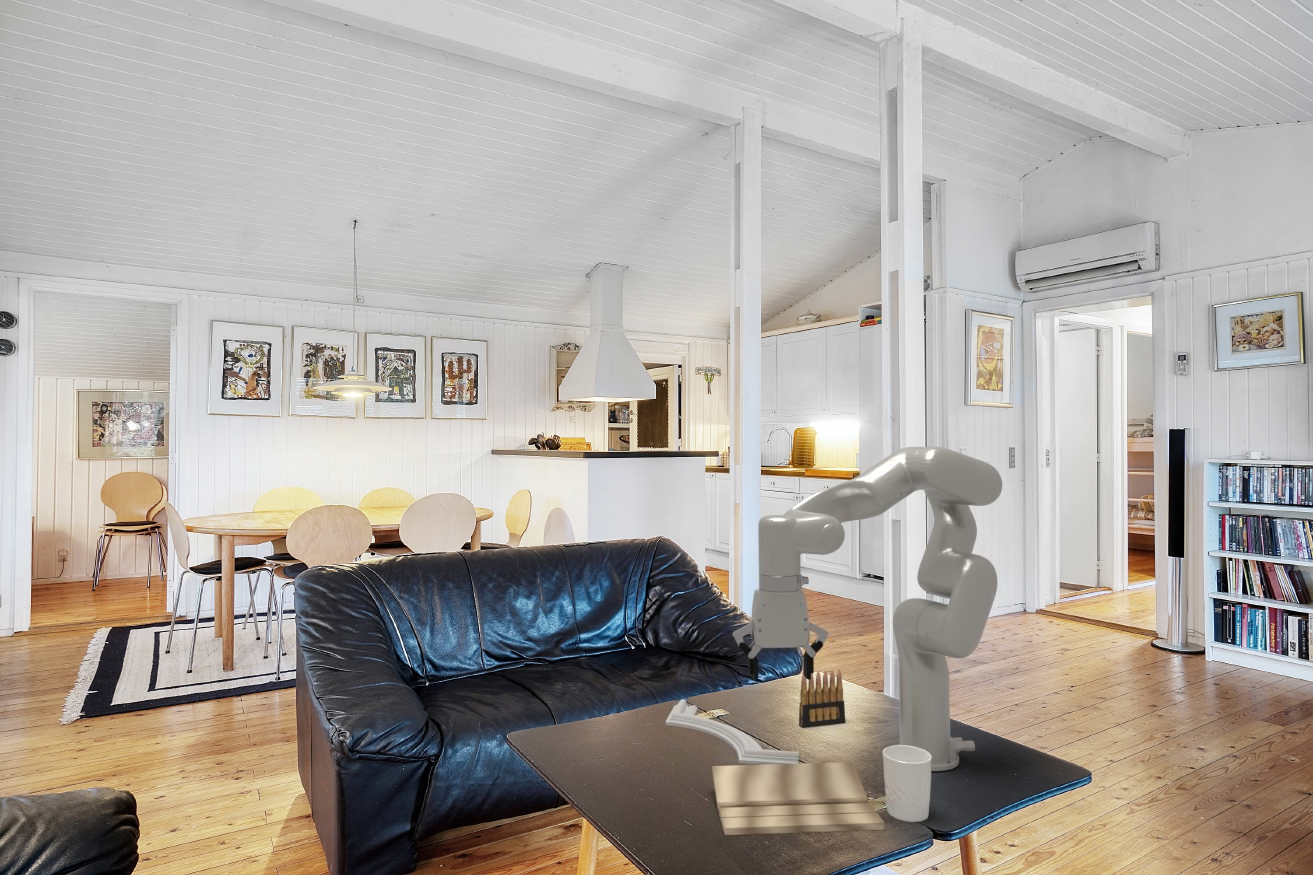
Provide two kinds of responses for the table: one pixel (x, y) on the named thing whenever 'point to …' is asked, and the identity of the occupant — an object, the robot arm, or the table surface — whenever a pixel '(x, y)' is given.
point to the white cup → (907, 782)
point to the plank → (787, 784)
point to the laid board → (800, 819)
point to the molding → (729, 737)
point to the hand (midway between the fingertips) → (781, 678)
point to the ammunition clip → (821, 701)
